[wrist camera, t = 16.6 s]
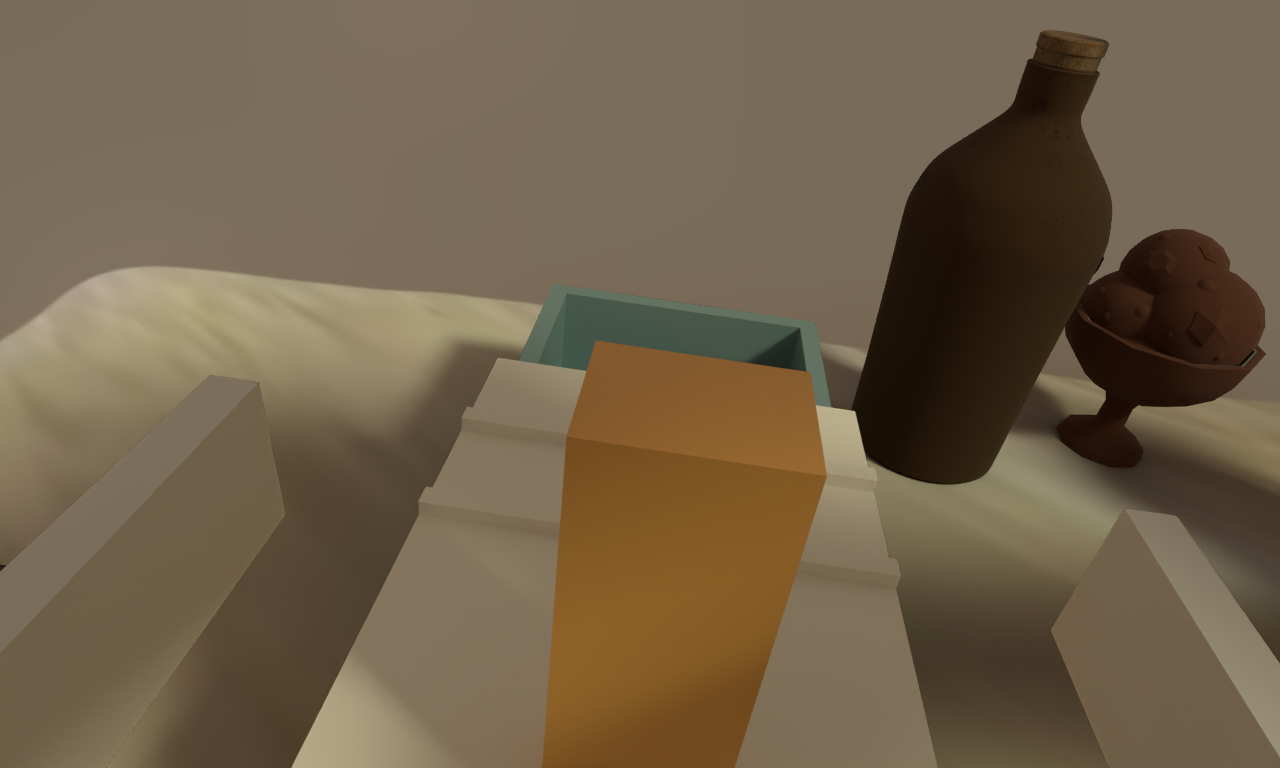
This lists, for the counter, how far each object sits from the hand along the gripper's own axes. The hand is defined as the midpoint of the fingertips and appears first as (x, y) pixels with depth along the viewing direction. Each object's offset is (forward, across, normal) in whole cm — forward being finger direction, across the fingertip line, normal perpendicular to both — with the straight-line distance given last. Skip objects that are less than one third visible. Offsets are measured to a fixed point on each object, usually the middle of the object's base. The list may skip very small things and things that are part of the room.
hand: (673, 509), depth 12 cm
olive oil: (+34, +17, -21) cm, 43 cm away
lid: (+10, 0, -13) cm, 16 cm away
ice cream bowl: (+37, +30, -22) cm, 52 cm away
